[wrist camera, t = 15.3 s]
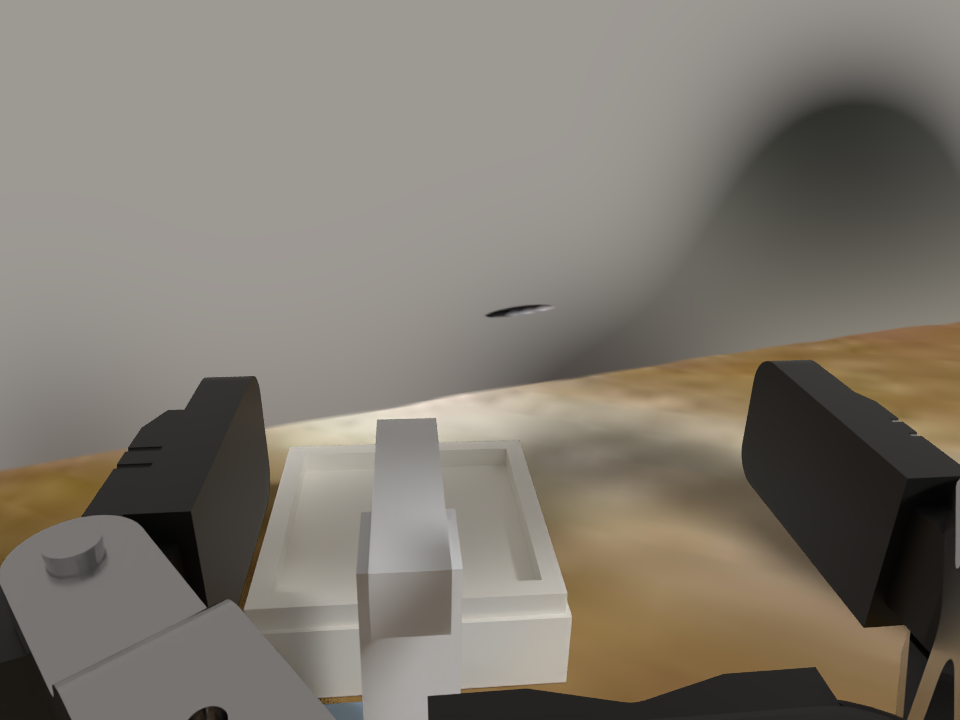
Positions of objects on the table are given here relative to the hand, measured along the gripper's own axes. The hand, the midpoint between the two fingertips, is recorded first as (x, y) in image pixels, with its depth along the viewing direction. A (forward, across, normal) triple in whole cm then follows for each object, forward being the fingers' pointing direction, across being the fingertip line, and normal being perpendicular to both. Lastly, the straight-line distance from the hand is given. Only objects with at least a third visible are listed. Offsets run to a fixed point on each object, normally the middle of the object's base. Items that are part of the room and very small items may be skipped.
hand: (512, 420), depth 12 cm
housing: (+22, +2, +23) cm, 32 cm away
